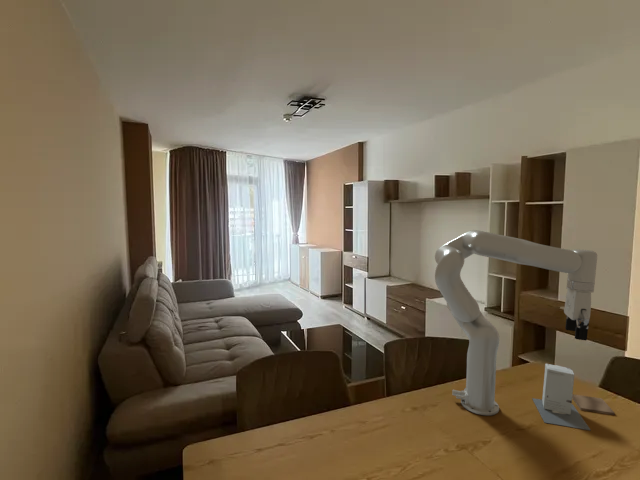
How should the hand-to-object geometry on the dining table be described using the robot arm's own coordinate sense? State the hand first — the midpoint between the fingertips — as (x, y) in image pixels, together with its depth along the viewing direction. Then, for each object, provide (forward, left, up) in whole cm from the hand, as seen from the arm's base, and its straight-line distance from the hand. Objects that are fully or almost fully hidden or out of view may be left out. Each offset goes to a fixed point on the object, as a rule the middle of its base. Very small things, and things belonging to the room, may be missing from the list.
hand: (575, 334), depth 120 cm
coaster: (+9, +9, -28) cm, 31 cm away
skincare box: (-4, +2, -28) cm, 29 cm away
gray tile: (-4, -1, -28) cm, 28 cm away
